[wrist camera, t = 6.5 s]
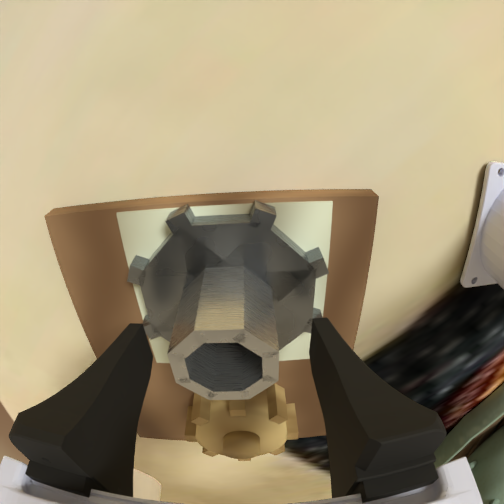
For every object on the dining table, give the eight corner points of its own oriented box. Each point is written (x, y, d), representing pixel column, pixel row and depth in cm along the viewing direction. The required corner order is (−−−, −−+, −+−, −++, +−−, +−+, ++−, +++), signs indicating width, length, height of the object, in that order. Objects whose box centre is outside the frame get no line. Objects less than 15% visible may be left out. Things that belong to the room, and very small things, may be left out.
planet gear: (328, 197, 14) (367, 254, 9) (315, 351, 18) (331, 423, 14) (119, 209, 14) (70, 267, 9) (157, 356, 18) (141, 426, 14)
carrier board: (371, 189, 15) (412, 229, 11) (328, 424, 24) (336, 469, 20) (53, 208, 15) (6, 249, 11) (141, 427, 24) (133, 470, 20)
